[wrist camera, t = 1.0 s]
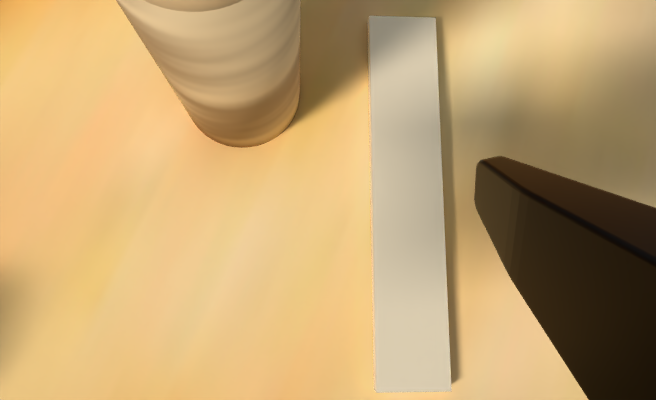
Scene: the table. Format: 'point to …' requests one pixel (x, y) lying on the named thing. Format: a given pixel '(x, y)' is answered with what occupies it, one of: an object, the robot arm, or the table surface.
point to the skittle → (226, 62)
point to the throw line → (407, 208)
